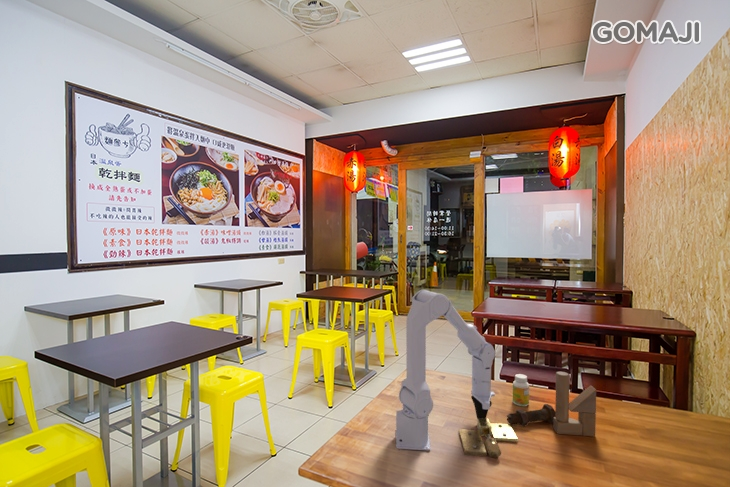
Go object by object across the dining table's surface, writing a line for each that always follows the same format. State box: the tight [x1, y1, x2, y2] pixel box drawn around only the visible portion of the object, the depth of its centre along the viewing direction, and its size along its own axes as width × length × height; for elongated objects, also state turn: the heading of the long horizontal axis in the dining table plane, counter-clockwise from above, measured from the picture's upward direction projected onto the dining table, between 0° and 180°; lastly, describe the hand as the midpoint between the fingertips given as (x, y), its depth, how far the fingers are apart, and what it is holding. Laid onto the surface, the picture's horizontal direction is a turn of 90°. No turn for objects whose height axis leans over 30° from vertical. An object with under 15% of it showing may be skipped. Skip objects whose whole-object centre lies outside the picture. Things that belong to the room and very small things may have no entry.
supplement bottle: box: [512, 373, 530, 407], centre depth 129 cm, size 5×5×10 cm
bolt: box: [506, 403, 555, 427], centre depth 116 cm, size 6×5×15 cm
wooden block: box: [552, 371, 597, 437], centre depth 110 cm, size 4×11×18 cm, turn 82°
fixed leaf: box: [458, 428, 502, 459], centre depth 104 cm, size 9×12×3 cm
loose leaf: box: [476, 417, 519, 443], centre depth 110 cm, size 10×8×3 cm
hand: (481, 420), depth 115 cm, fingers closed
